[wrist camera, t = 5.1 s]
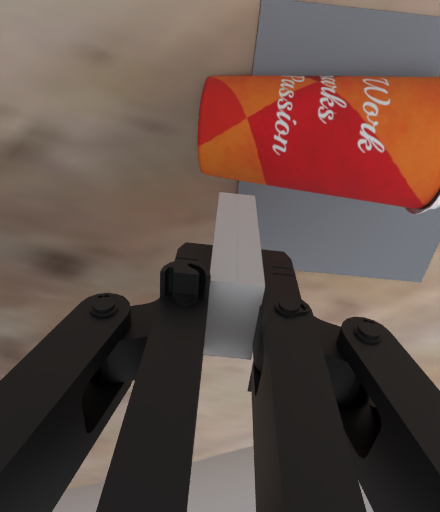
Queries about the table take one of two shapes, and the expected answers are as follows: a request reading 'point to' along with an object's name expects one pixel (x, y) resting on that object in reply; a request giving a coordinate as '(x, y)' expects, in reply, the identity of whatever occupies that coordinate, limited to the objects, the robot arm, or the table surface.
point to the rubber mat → (332, 207)
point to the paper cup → (326, 135)
